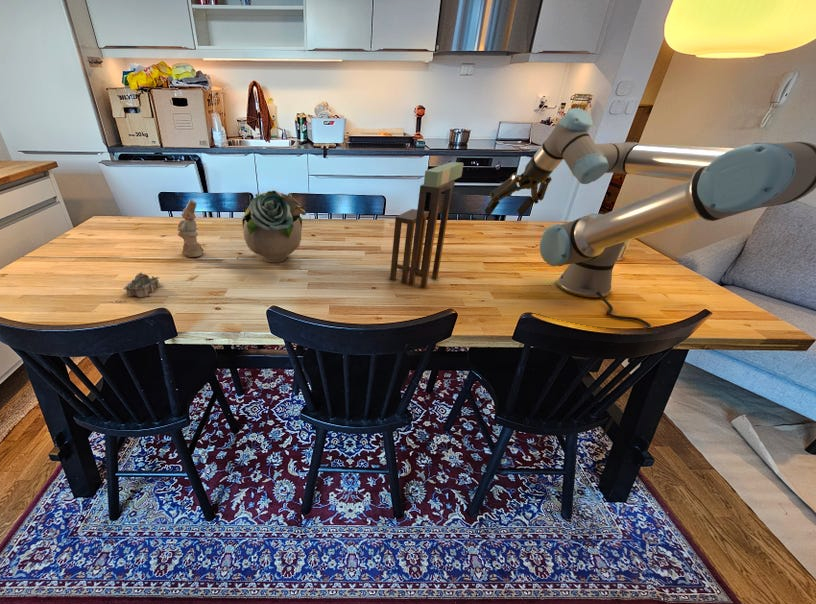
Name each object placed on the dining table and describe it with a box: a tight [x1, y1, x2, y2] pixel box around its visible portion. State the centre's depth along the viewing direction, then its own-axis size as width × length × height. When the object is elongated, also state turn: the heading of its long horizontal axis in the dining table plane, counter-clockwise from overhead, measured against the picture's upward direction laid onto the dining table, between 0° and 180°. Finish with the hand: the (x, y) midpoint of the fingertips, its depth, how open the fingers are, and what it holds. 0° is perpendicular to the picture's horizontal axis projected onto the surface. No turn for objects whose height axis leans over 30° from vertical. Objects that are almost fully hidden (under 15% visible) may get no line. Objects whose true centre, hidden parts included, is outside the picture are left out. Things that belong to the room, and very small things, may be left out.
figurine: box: [177, 199, 204, 258], centre depth 148 cm, size 9×8×20 cm
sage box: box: [423, 161, 464, 187], centre depth 119 cm, size 20×4×4 cm, turn 145°
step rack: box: [389, 180, 456, 289], centre depth 128 cm, size 12×13×31 cm
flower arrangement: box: [241, 189, 307, 263], centre depth 144 cm, size 25×25×24 cm
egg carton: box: [122, 271, 161, 298], centre depth 126 cm, size 11×8×4 cm
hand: (503, 213), depth 139 cm, fingers open, 13 cm apart
